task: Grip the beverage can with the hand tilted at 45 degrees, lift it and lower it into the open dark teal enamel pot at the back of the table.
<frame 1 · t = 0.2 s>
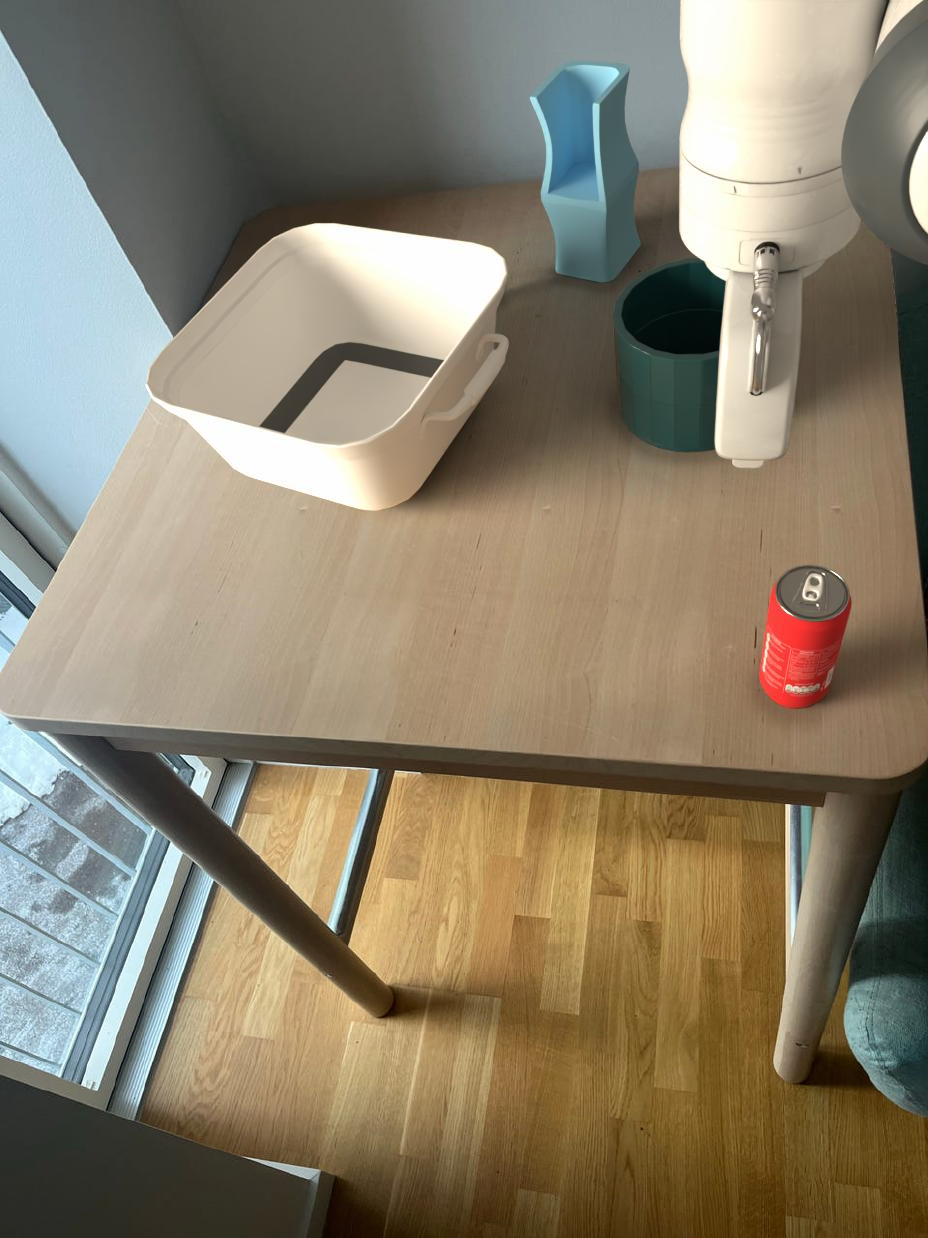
hand: (752, 403, 56), 24 cm above the table, tool pointing down, fingers open, 8 cm apart
white storage bin: (369, 438, 96), on the table
beverage can: (793, 685, 71), on the table
vase: (595, 259, 107), on the table
enamel pot: (693, 399, 90), on the table
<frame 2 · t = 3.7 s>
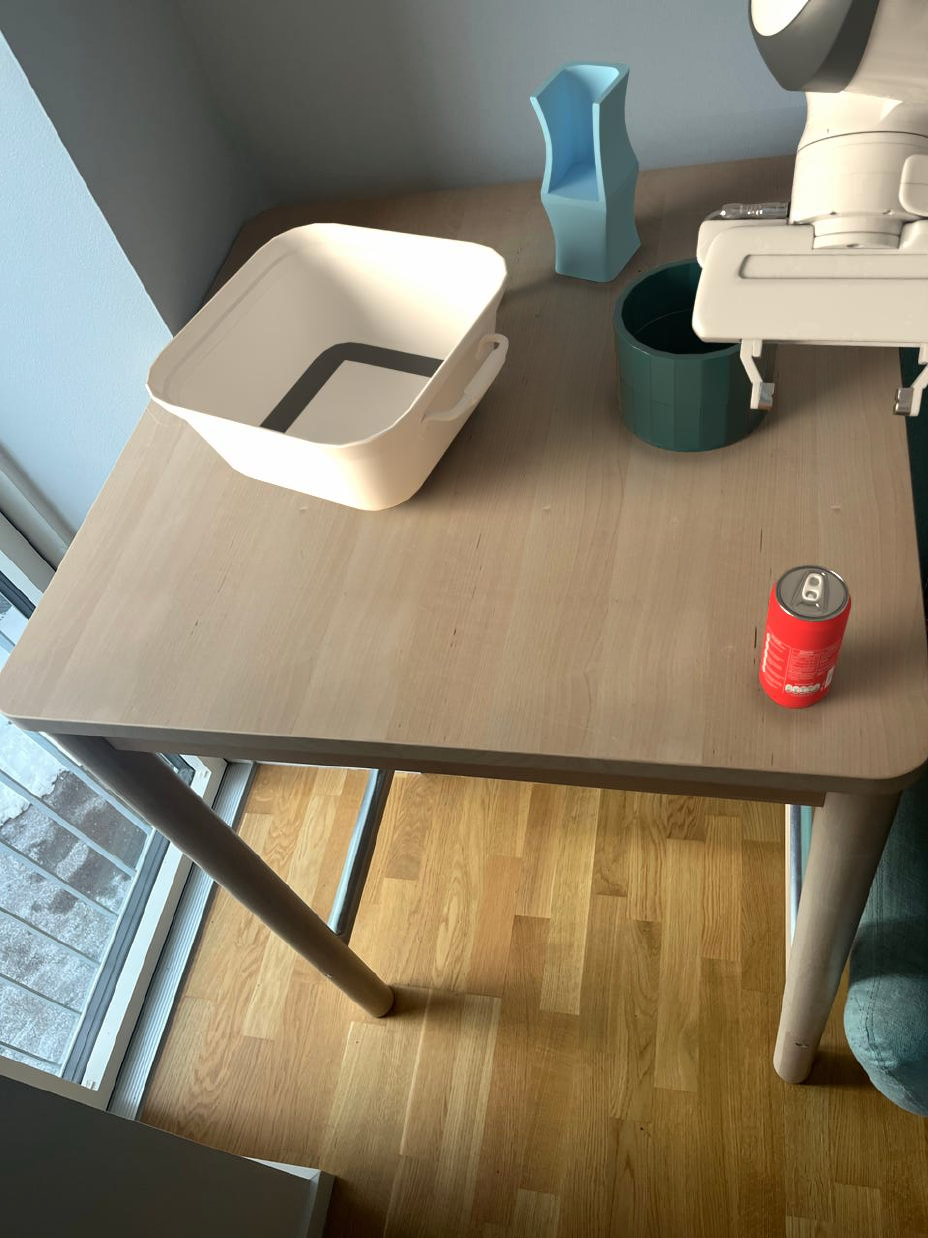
hand: (831, 412, 64), 17 cm above the table, tool tilted 45°, fingers open, 8 cm apart
nothing on the table moved.
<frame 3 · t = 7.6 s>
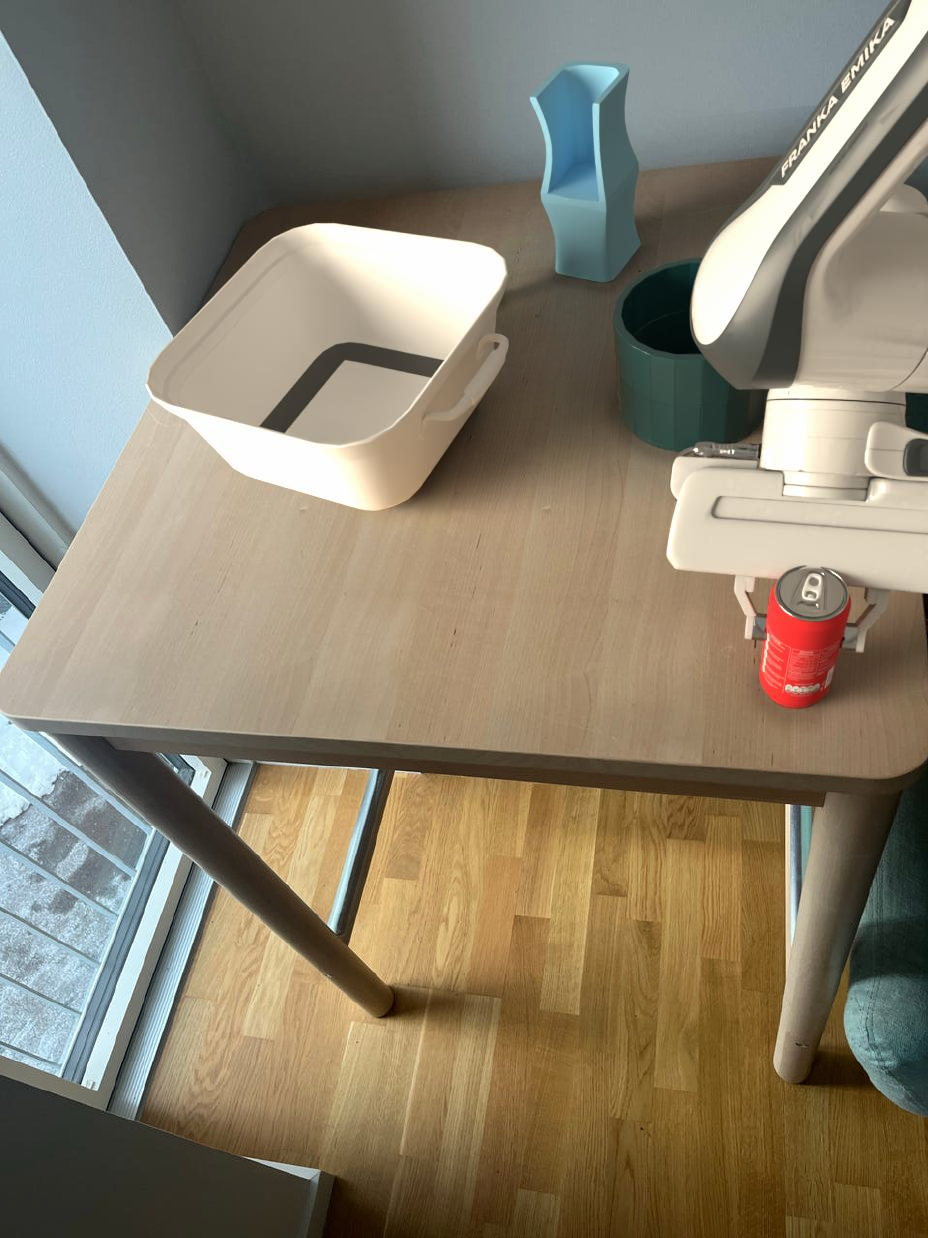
hand: (802, 644, 65), 7 cm above the table, tool tilted 45°, fingers closed on beverage can, 5 cm apart
beverage can: (793, 685, 71), on the table, touching gripper
everything else where it was.
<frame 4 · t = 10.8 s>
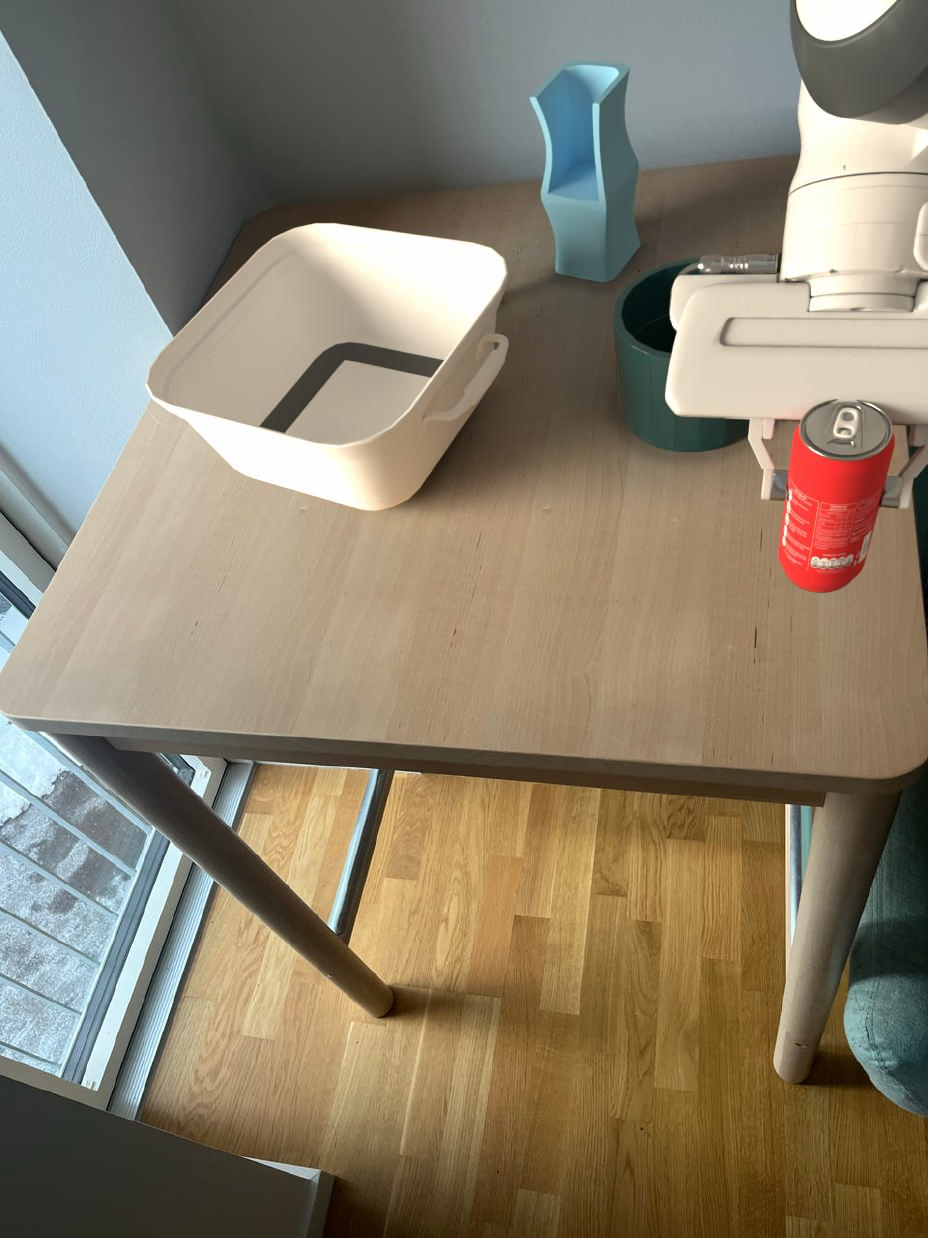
hand: (833, 504, 53), 22 cm above the table, tool tilted 45°, fingers closed on beverage can, 5 cm apart
beverage can: (819, 567, 59), point 15 cm above the table, touching gripper
everything else where it was.
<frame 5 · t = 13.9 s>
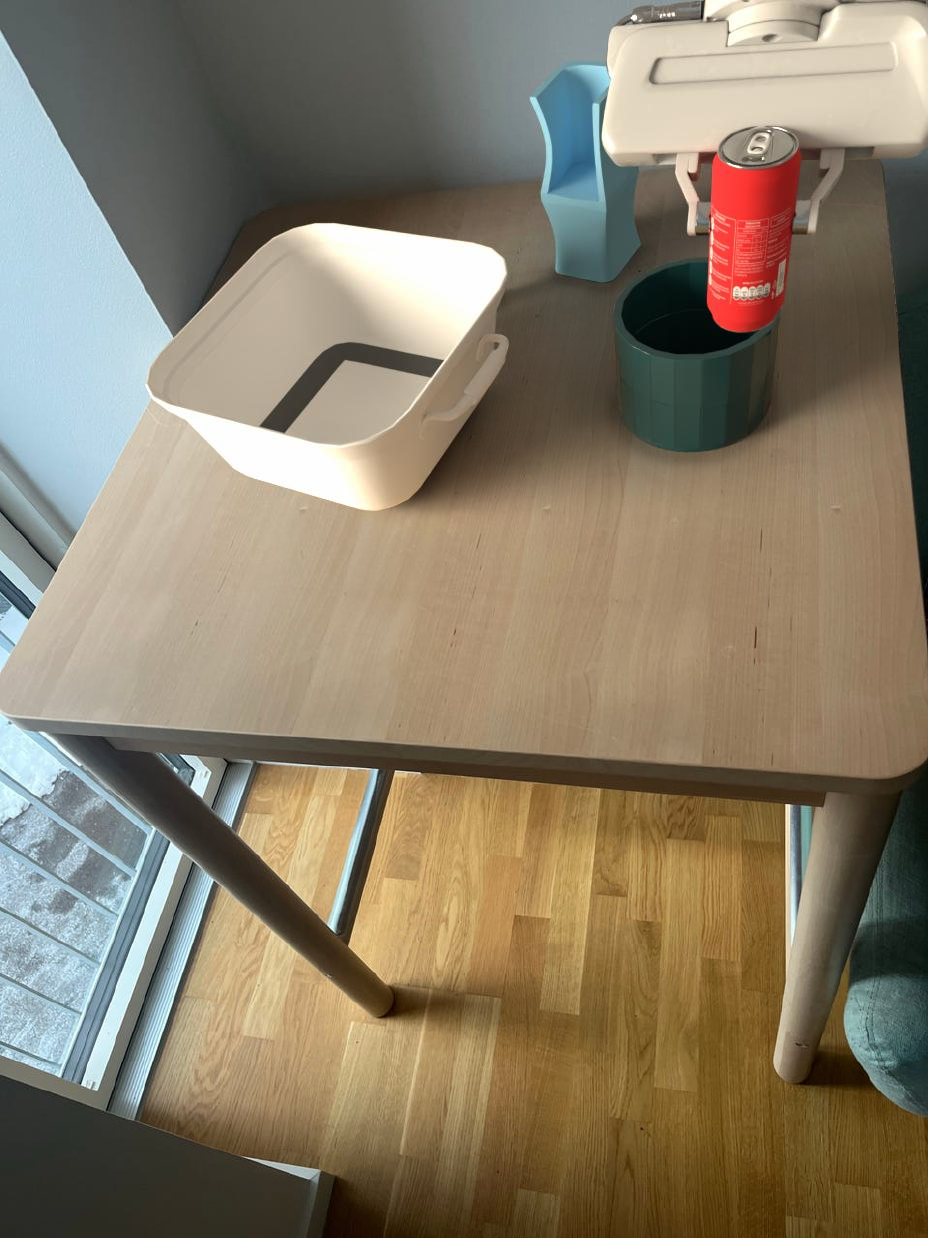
hand: (751, 233, 59), 28 cm above the table, tool tilted 45°, fingers closed on beverage can, 5 cm apart
beverage can: (744, 314, 65), point 21 cm above the table, touching gripper
everything else where it was.
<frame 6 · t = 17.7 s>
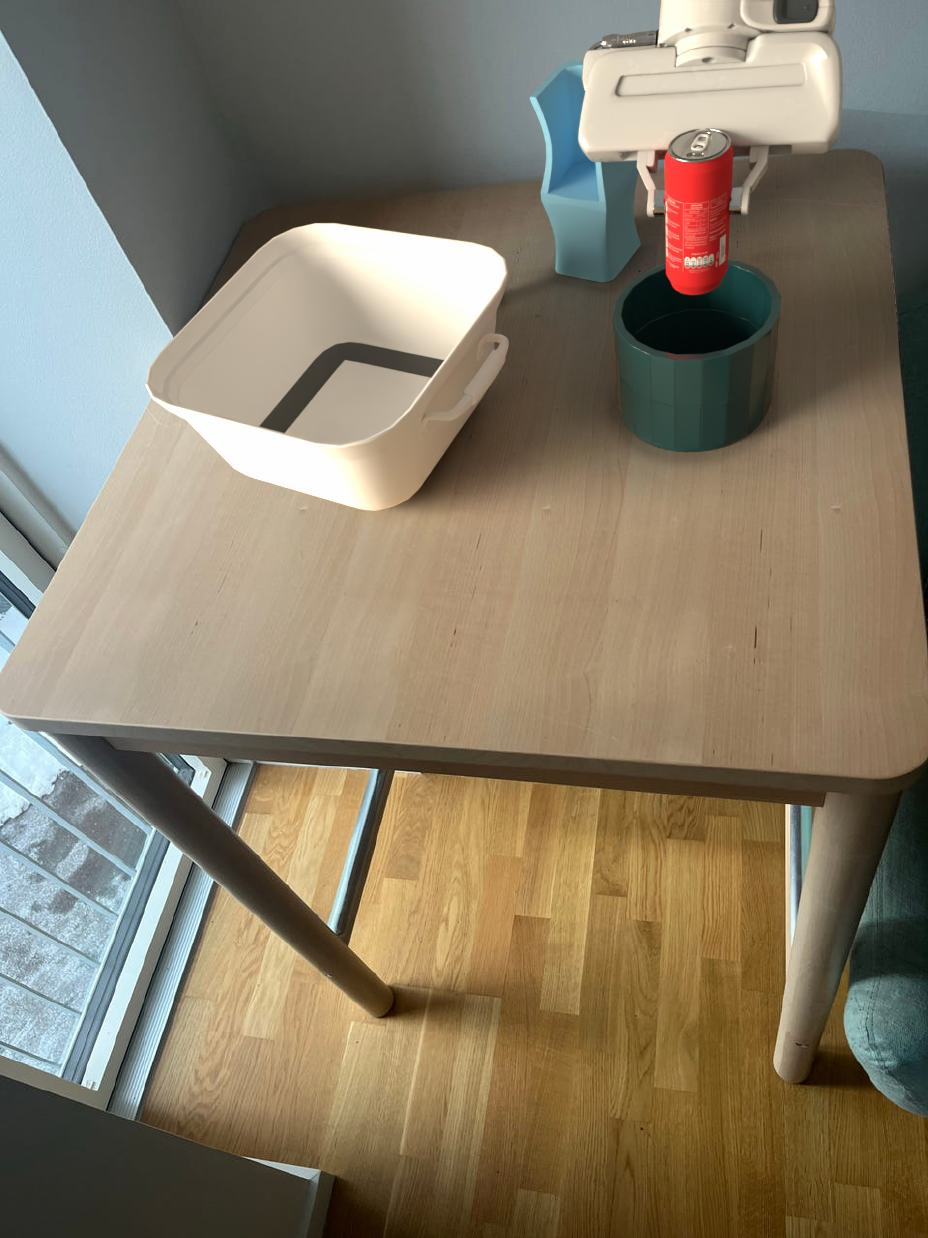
hand: (697, 214, 74), 20 cm above the table, tool tilted 45°, fingers closed on beverage can, 5 cm apart
beverage can: (696, 281, 80), point 13 cm above the table, touching gripper
everything else where it was.
when the fingers open (12 cm above the table, at t = 20.5 s): beverage can drops 5 cm, resting on enamel pot.
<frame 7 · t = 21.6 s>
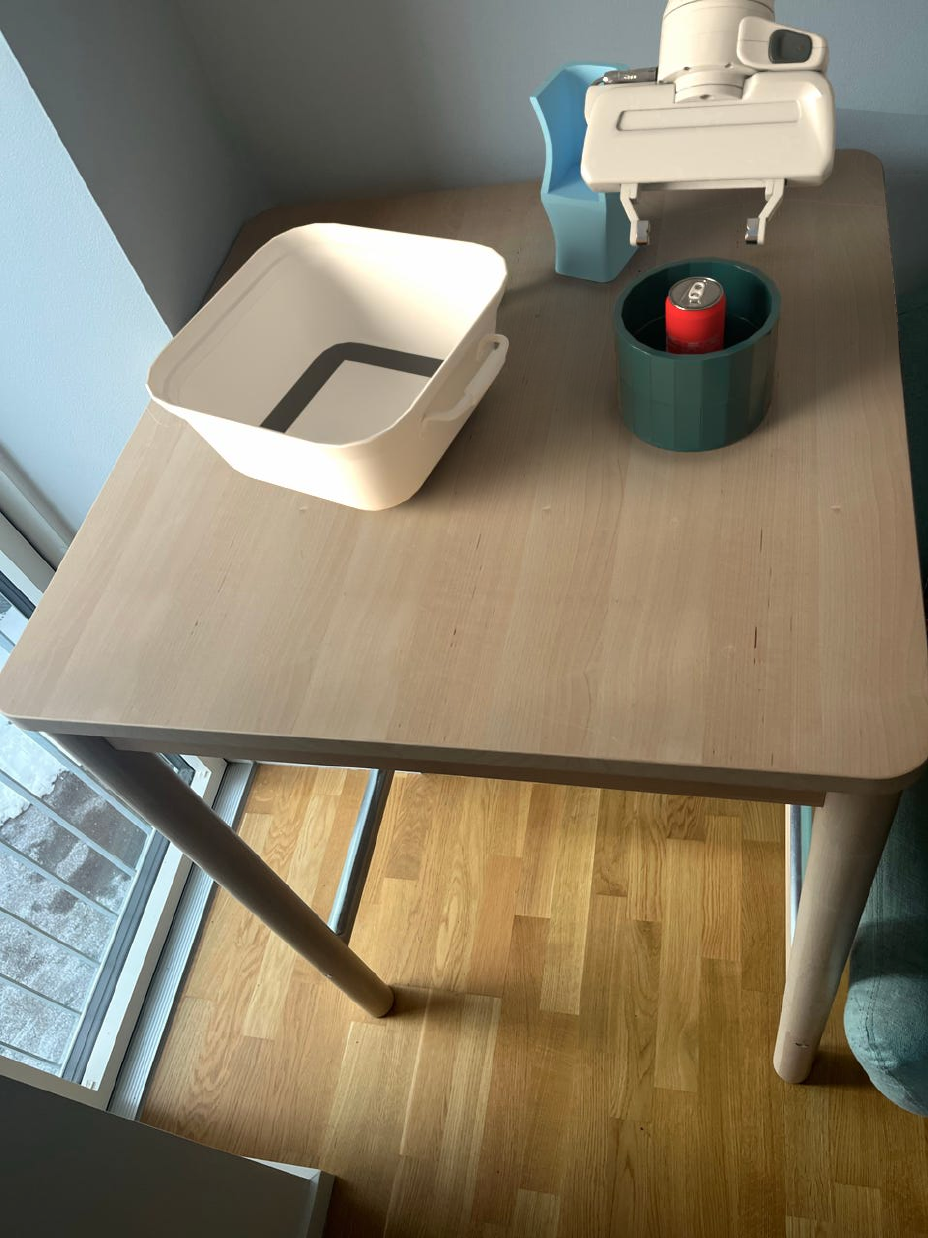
hand: (696, 244, 76), 17 cm above the table, tool tilted 45°, fingers open, 8 cm apart
beverage can: (693, 398, 90), resting on enamel pot
everything else where it was.
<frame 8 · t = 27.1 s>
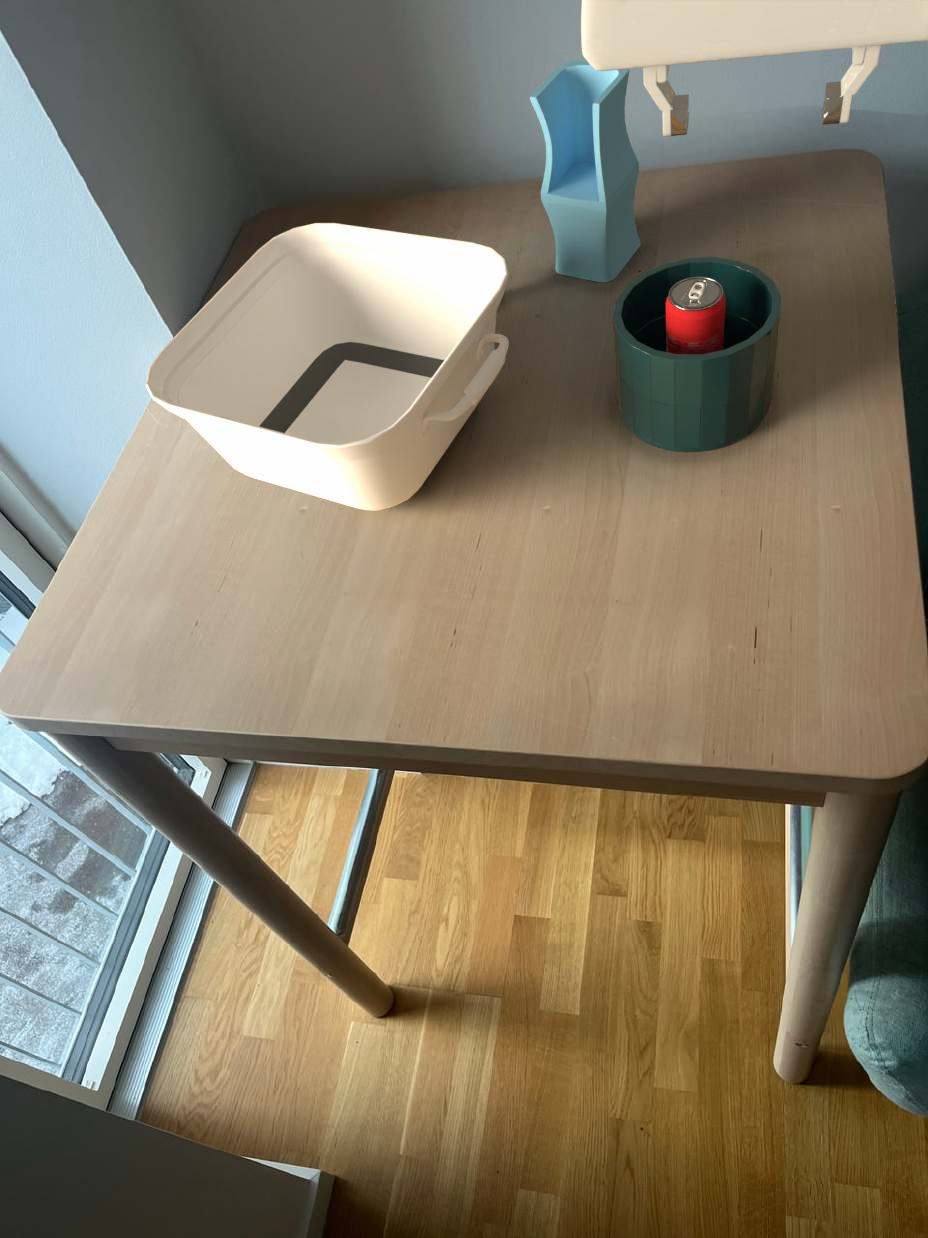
hand: (753, 125, 56), 33 cm above the table, tool pointing down, fingers open, 8 cm apart
nothing on the table moved.
at the end: beverage can inside the target area in the enamel pot (0.2 cm from its centre), point 0.3 cm above the enamel pot's base; the gripper is holding nothing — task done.
